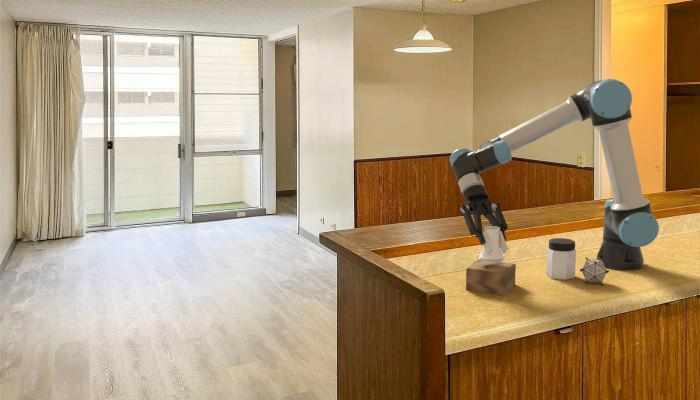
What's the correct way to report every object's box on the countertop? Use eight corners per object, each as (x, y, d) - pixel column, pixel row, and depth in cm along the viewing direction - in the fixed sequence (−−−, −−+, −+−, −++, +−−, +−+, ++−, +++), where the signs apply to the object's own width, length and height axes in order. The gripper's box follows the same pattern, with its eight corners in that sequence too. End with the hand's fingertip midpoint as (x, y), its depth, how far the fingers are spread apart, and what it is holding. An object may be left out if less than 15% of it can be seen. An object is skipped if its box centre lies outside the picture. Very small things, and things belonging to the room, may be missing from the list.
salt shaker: (507, 261, 181) (507, 229, 180) (483, 262, 181) (483, 230, 179) (499, 255, 189) (499, 224, 187) (476, 256, 188) (476, 225, 186)
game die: (596, 293, 190) (615, 267, 190) (598, 291, 182) (618, 265, 182) (571, 276, 193) (590, 251, 193) (572, 274, 186) (591, 248, 185)
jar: (562, 281, 190) (563, 245, 188) (541, 275, 197) (542, 240, 195) (579, 276, 195) (581, 241, 193) (558, 271, 202) (560, 236, 200)
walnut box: (515, 285, 188) (515, 263, 187) (504, 296, 178) (505, 273, 177) (478, 280, 194) (478, 258, 193) (465, 290, 184) (466, 268, 183)
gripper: (493, 195, 199) (518, 255, 186) (444, 198, 194) (466, 260, 181) (502, 182, 193) (528, 243, 180) (452, 184, 188) (475, 247, 175)
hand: (497, 251), depth 180 cm, fingers closed on salt shaker, 5 cm apart
